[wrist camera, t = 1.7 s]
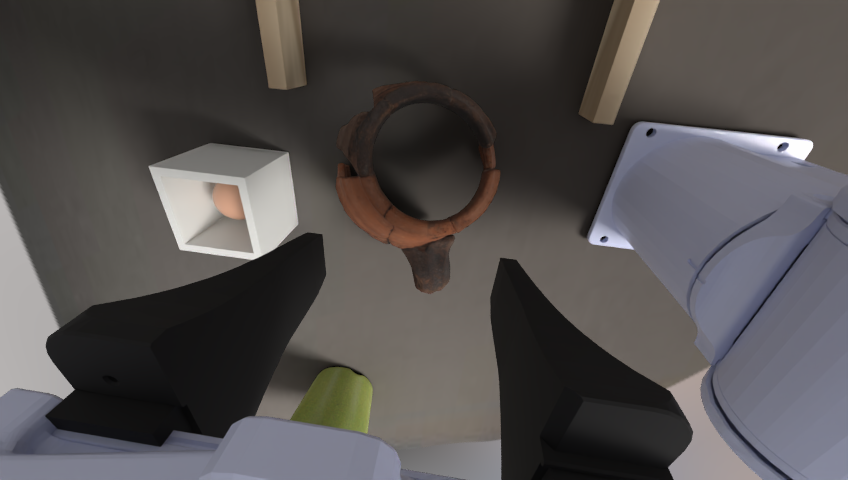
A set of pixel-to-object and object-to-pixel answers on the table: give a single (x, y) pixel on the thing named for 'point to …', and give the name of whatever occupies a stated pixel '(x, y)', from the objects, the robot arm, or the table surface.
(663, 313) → the table surface
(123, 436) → the robot arm
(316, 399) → the plant pot
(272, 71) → the birch bay
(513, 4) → the table surface
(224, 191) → the terracotta bead
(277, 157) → the white square open box
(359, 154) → the brown hollow curved piece
